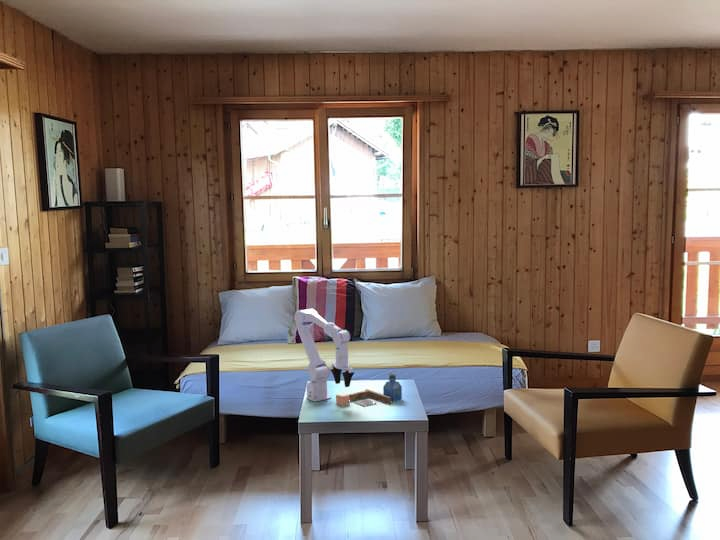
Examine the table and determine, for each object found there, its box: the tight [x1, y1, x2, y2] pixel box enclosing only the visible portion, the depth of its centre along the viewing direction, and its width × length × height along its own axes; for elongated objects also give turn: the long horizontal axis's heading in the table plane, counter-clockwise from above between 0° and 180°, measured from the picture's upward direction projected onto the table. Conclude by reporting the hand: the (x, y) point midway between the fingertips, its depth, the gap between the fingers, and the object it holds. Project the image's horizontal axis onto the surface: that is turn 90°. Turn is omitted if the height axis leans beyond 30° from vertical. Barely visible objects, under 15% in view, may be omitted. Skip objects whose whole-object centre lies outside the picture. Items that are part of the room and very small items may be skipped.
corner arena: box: [348, 388, 392, 408], centre depth 294 cm, size 13×18×3 cm
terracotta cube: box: [335, 392, 351, 407], centre depth 291 cm, size 4×4×5 cm
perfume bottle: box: [382, 373, 403, 403], centre depth 297 cm, size 6×6×12 cm
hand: (342, 385), depth 291 cm, fingers open, 7 cm apart
